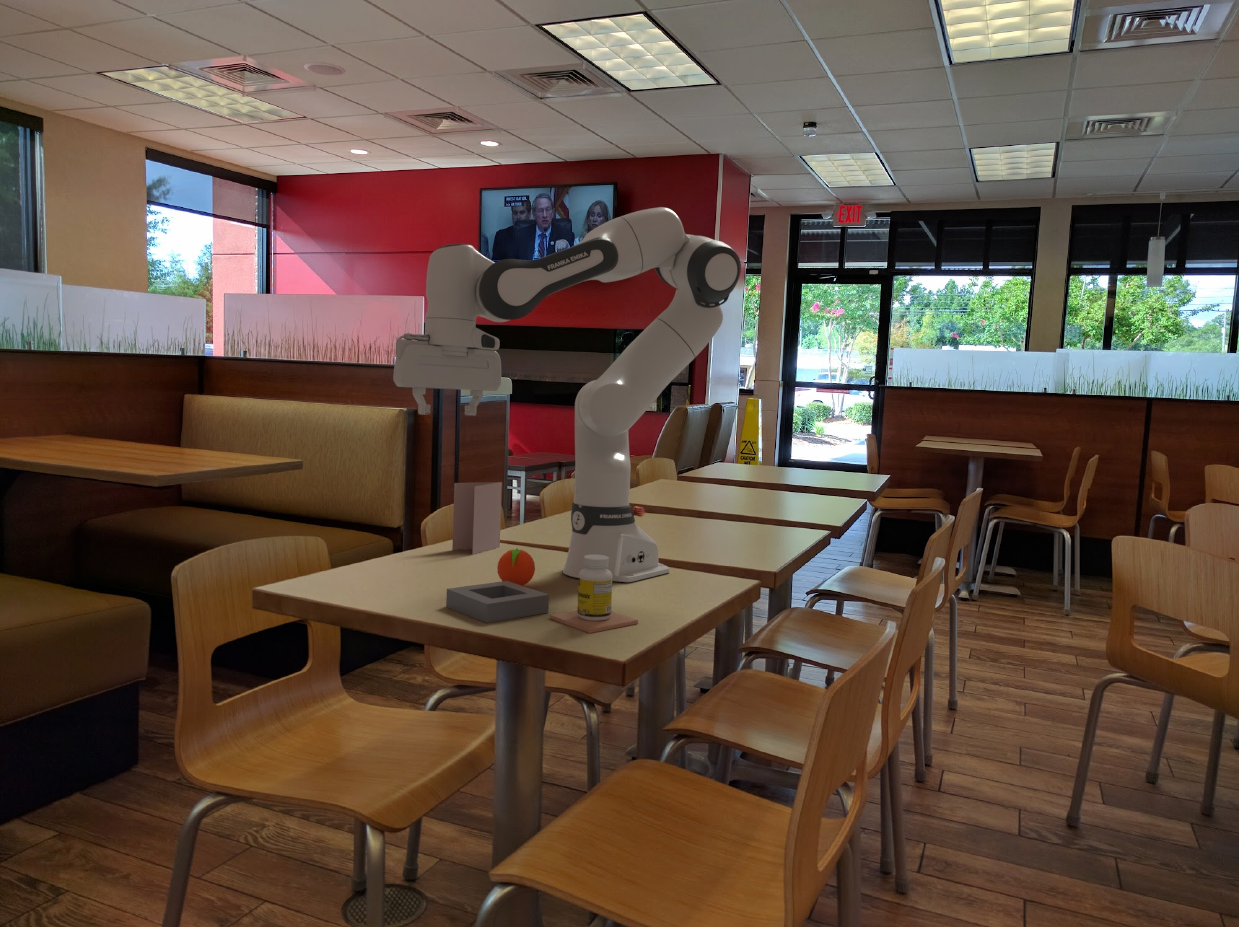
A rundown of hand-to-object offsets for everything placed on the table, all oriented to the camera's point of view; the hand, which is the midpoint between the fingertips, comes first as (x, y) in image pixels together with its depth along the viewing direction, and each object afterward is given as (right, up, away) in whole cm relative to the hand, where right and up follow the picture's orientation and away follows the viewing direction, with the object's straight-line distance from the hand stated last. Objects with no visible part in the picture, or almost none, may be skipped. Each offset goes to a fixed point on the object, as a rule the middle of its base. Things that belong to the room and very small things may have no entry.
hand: (447, 415), depth 156 cm
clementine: (+11, -32, +5) cm, 34 cm away
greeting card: (0, -28, +39) cm, 48 cm away
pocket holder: (+11, -33, -12) cm, 36 cm away
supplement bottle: (+27, -33, -16) cm, 46 cm away
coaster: (+27, -34, -17) cm, 46 cm away
